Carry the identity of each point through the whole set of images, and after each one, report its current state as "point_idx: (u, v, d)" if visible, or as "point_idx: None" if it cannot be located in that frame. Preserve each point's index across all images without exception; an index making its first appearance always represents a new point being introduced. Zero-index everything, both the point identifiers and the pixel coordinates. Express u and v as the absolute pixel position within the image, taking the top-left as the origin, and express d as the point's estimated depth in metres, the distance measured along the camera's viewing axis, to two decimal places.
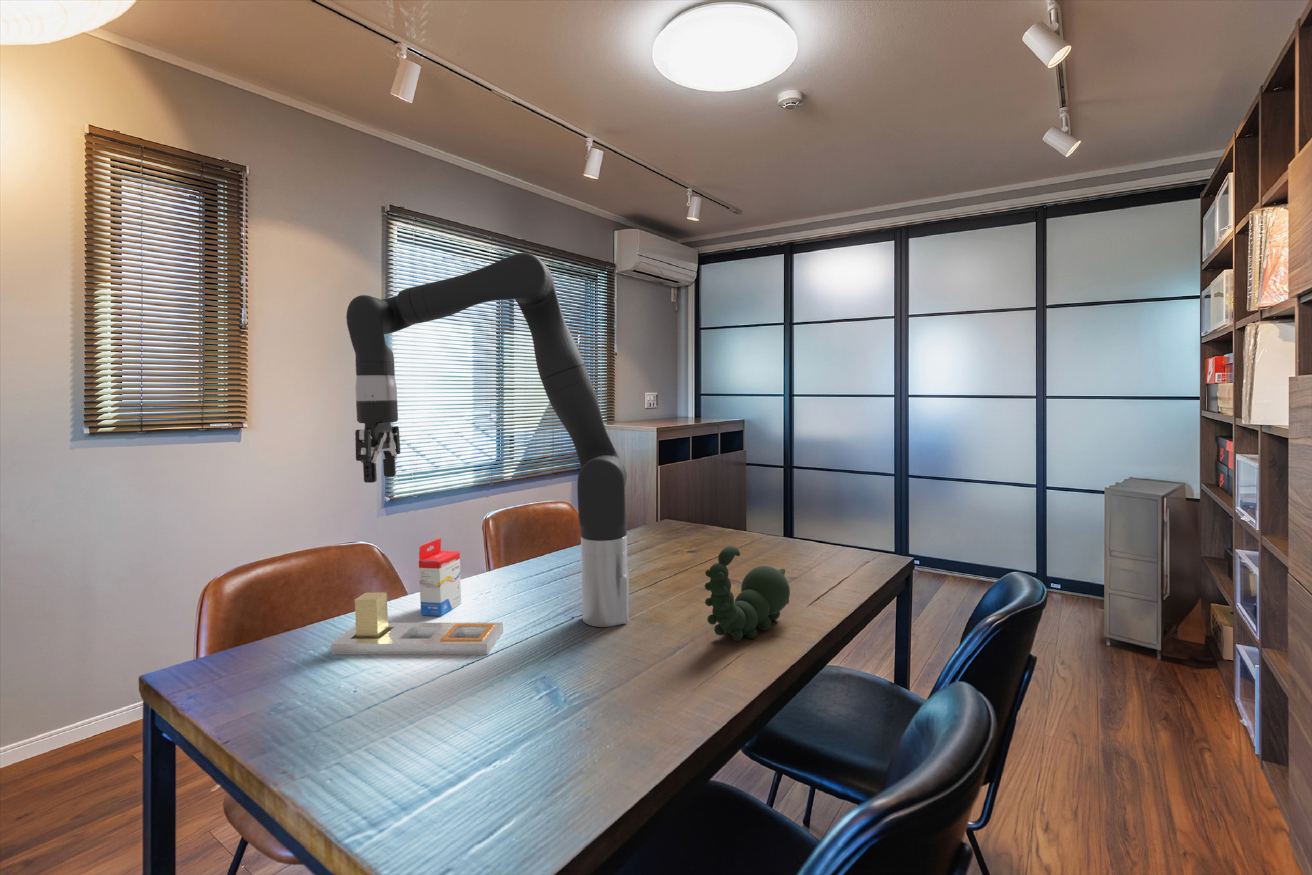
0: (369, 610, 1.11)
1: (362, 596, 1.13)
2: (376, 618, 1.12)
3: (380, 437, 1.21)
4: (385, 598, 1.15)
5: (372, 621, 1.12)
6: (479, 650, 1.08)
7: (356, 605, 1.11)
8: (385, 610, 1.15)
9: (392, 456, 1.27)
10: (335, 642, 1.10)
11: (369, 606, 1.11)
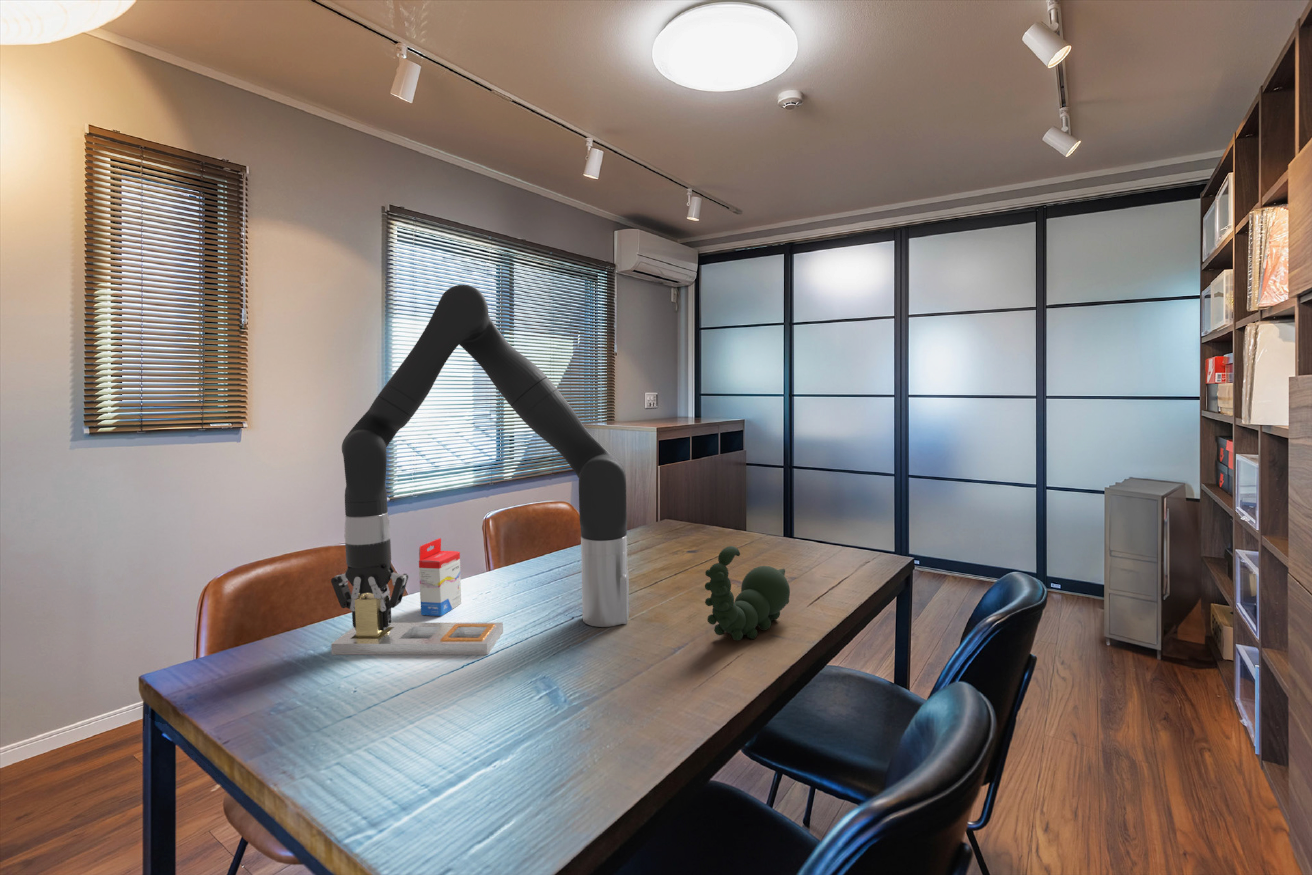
0: (369, 610, 1.11)
1: (362, 596, 1.13)
2: (376, 618, 1.11)
3: None
4: None
5: (372, 621, 1.12)
6: (479, 650, 1.08)
7: (356, 605, 1.11)
8: None
9: None
10: (335, 642, 1.10)
11: (368, 606, 1.11)
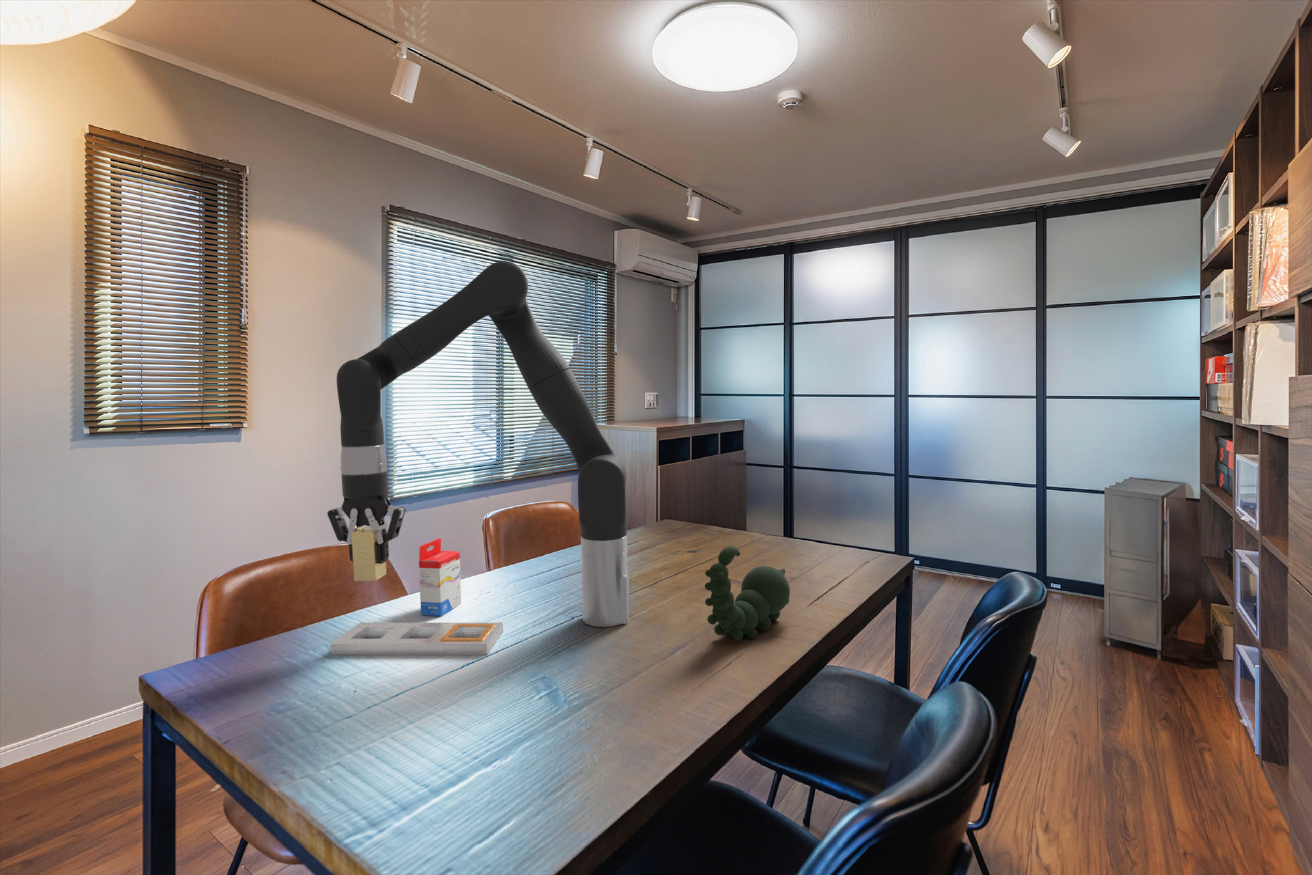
0: (366, 543, 1.10)
1: (359, 529, 1.12)
2: (373, 550, 1.11)
3: None
4: None
5: (369, 554, 1.11)
6: (479, 650, 1.08)
7: (353, 537, 1.10)
8: None
9: None
10: (335, 642, 1.10)
11: (366, 538, 1.10)
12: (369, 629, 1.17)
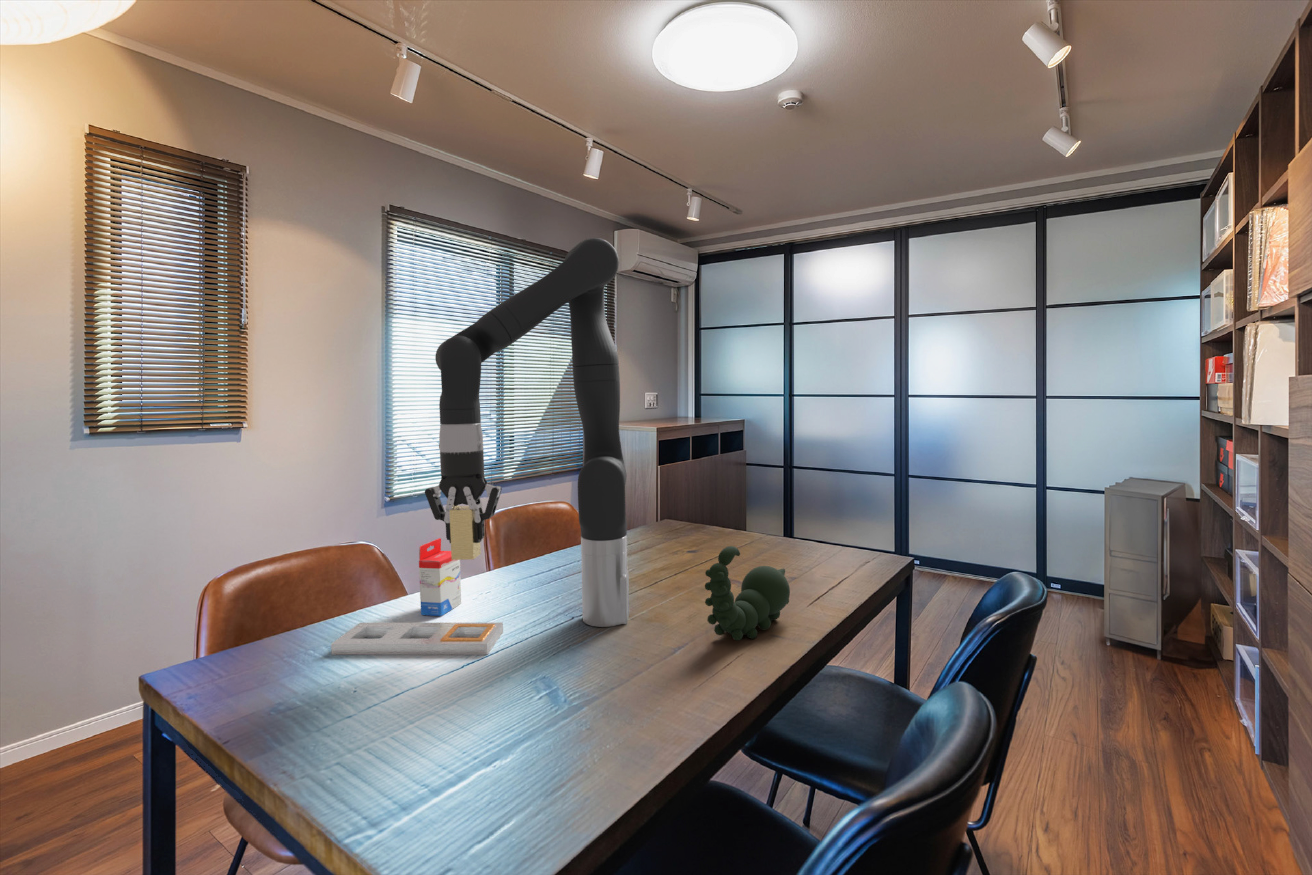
0: (464, 521, 1.10)
1: (456, 508, 1.11)
2: (471, 529, 1.10)
3: None
4: None
5: (467, 532, 1.10)
6: (479, 650, 1.08)
7: (451, 516, 1.10)
8: None
9: None
10: (335, 642, 1.10)
11: (464, 517, 1.10)
12: (369, 629, 1.17)
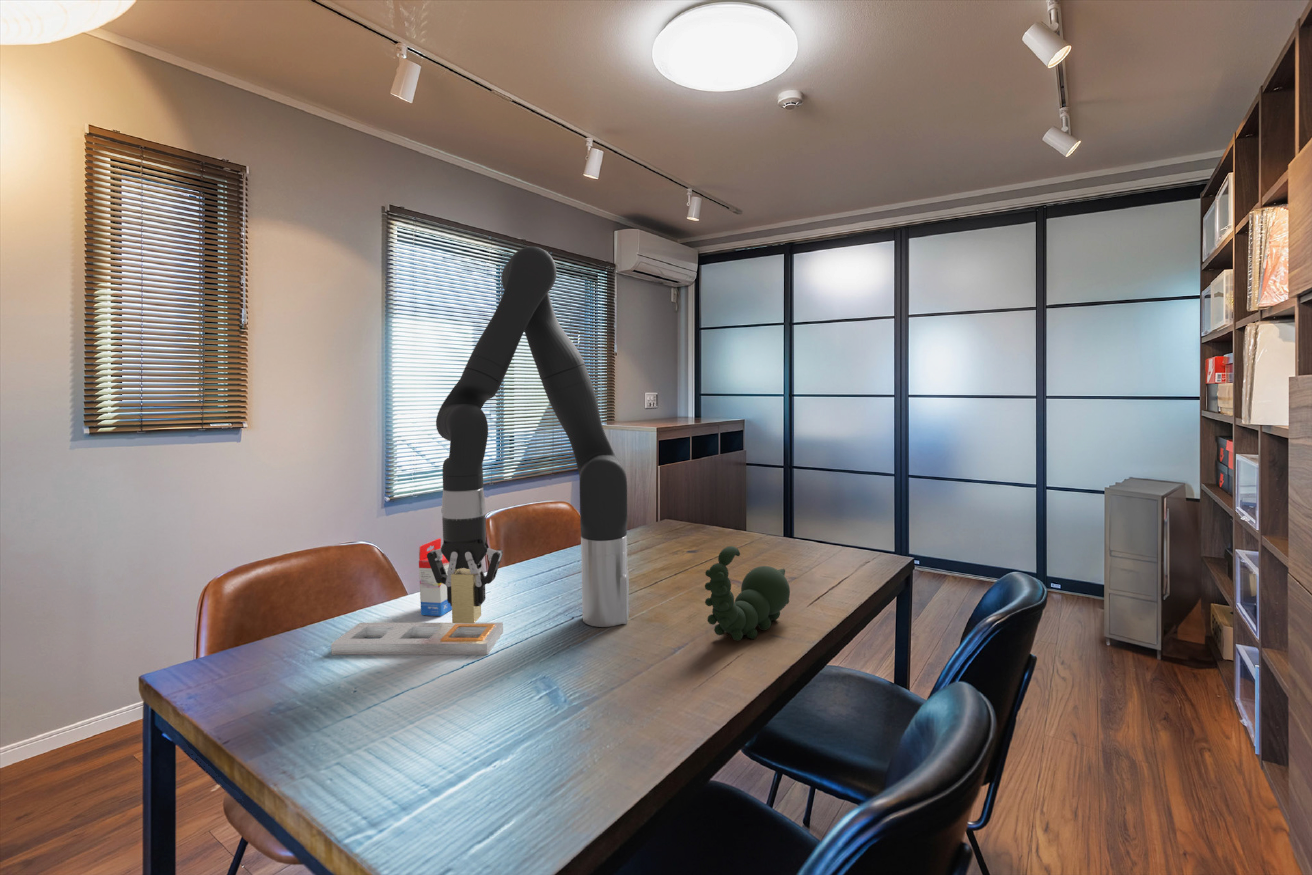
0: (465, 585, 1.11)
1: (457, 571, 1.12)
2: (472, 593, 1.11)
3: None
4: None
5: (468, 597, 1.11)
6: (479, 650, 1.08)
7: (452, 580, 1.11)
8: None
9: None
10: (335, 642, 1.10)
11: (465, 581, 1.11)
12: (369, 629, 1.17)
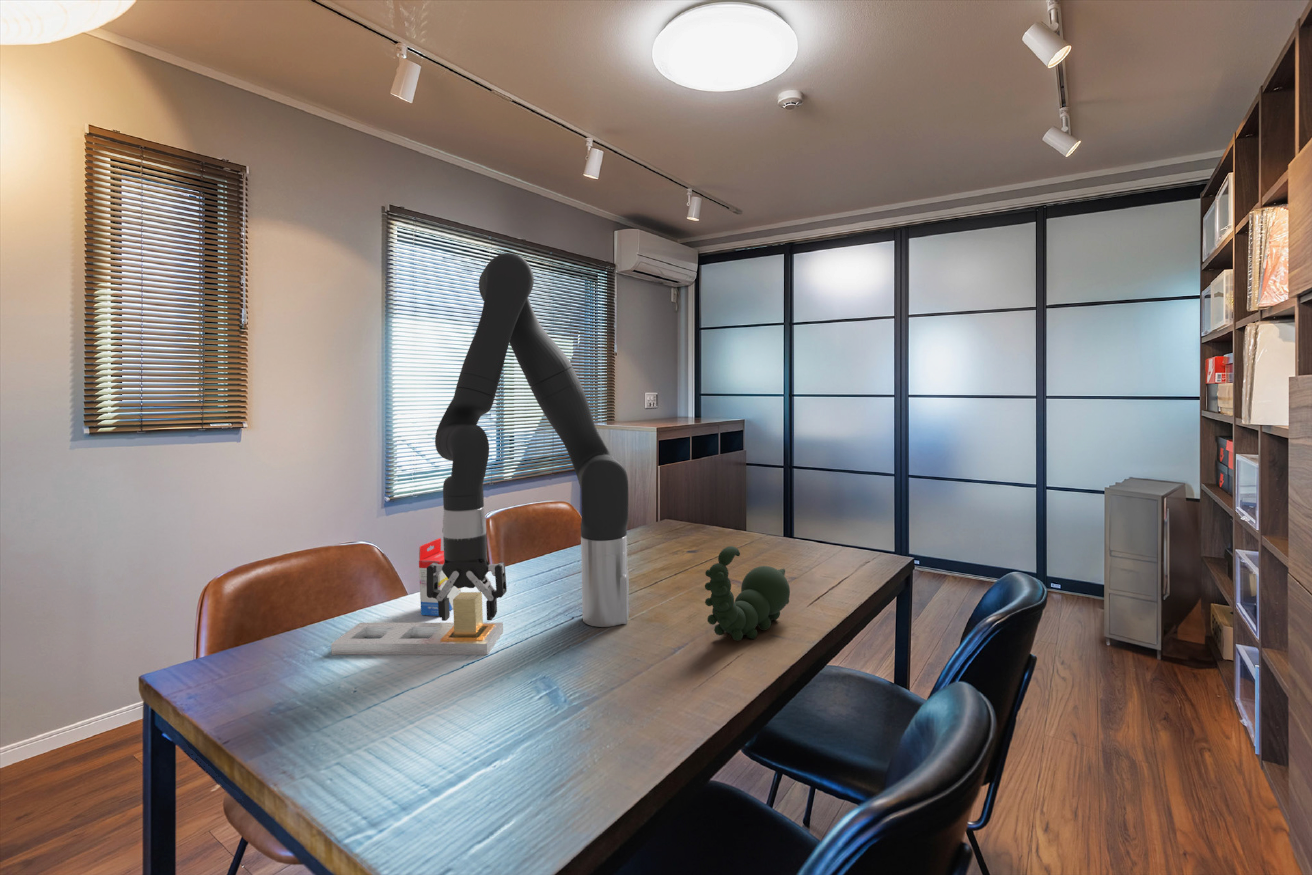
0: (467, 610, 1.11)
1: (459, 596, 1.13)
2: (474, 618, 1.11)
3: None
4: (481, 598, 1.14)
5: (470, 621, 1.11)
6: (479, 650, 1.08)
7: (454, 605, 1.11)
8: (481, 610, 1.14)
9: None
10: (335, 642, 1.10)
11: (467, 606, 1.11)
12: (369, 629, 1.17)
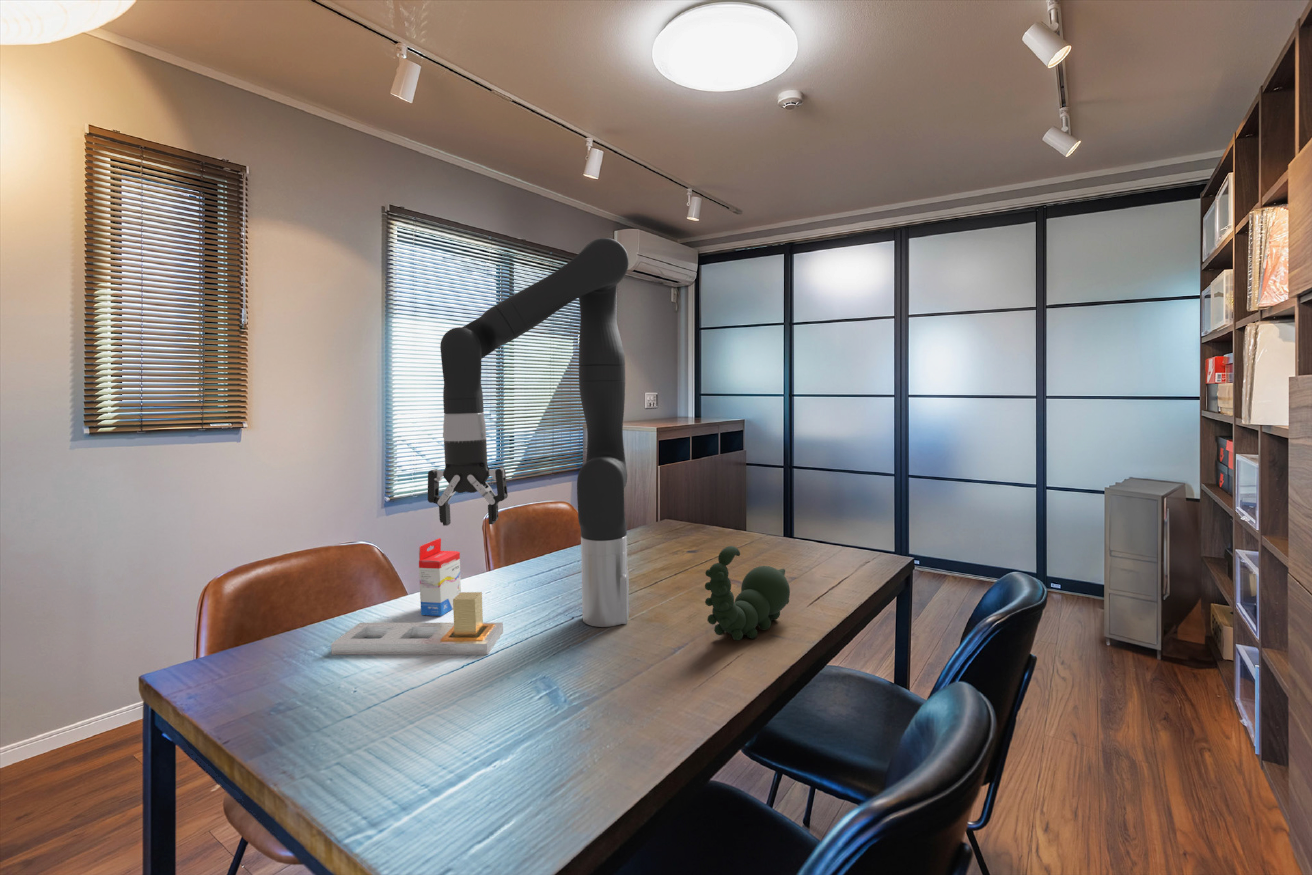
0: (467, 610, 1.11)
1: (459, 596, 1.13)
2: (474, 618, 1.11)
3: None
4: (481, 598, 1.14)
5: (470, 621, 1.11)
6: (479, 650, 1.08)
7: (454, 605, 1.11)
8: (481, 610, 1.14)
9: (447, 501, 1.15)
10: (335, 642, 1.10)
11: (467, 606, 1.11)
12: (369, 629, 1.17)
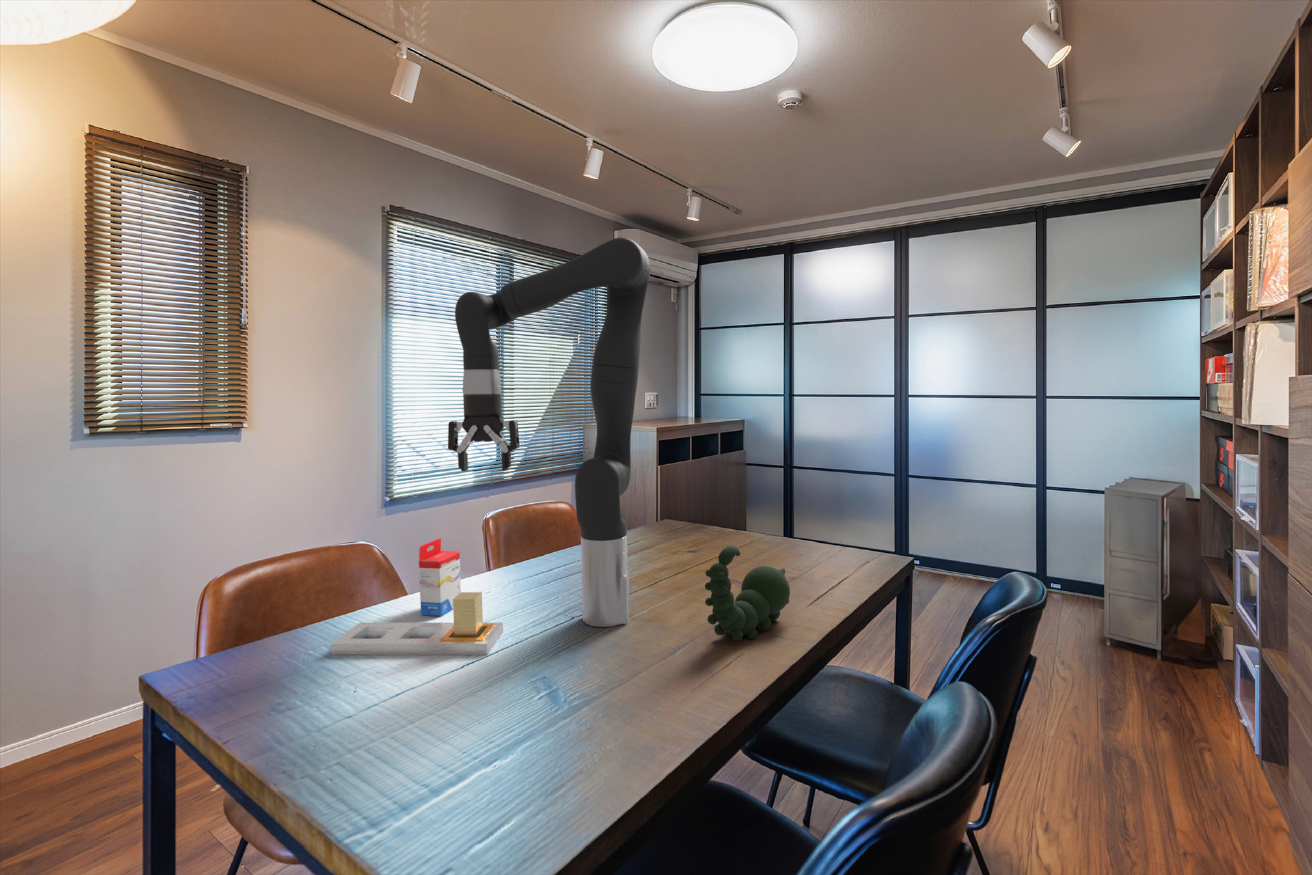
0: (467, 610, 1.11)
1: (459, 596, 1.13)
2: (474, 618, 1.11)
3: None
4: (481, 598, 1.14)
5: (470, 621, 1.11)
6: (479, 650, 1.08)
7: (454, 605, 1.11)
8: (481, 610, 1.14)
9: (465, 450, 1.28)
10: (335, 642, 1.10)
11: (467, 606, 1.11)
12: (369, 629, 1.17)
